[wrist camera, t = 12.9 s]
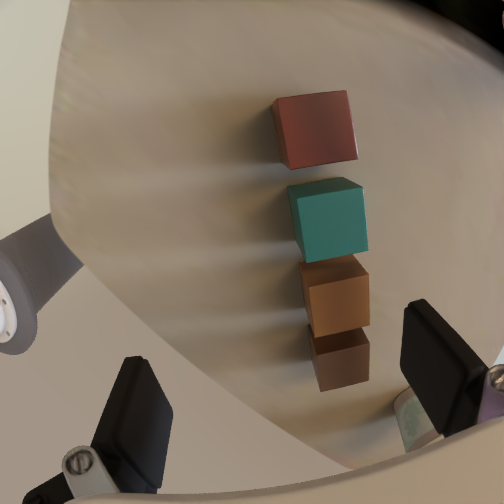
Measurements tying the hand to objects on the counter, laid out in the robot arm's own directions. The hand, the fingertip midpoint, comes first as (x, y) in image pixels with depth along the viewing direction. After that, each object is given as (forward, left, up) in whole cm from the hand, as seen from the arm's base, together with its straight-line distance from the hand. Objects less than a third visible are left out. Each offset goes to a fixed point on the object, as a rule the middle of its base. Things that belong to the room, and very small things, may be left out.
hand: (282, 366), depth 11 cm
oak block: (+5, -7, -18) cm, 20 cm away
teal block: (+5, 0, -18) cm, 19 cm away
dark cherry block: (+5, +7, -18) cm, 20 cm away
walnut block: (+5, -14, -18) cm, 24 cm away
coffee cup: (+16, -28, -19) cm, 38 cm away
